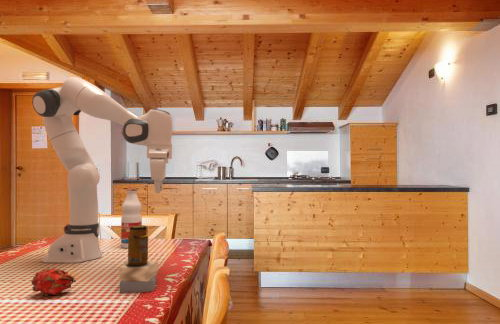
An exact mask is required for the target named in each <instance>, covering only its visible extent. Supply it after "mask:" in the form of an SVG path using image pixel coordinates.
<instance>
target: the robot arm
mask: <svg viewBox="0 0 500 324" xmlns="http://www.w3.org/2000/svg"><path fill="white" fill-rule="evenodd" d="M31 100H32V101H31V103H32V108H33V109H34V112H36V114H37V115H38V116H40V117H42V119H43V120H42V121H43V126H44V128H45V129H44V130H45V132H46V135H47V137H48V139H49V142H50V145H52V147H53V150H54V152H55V153H56V155H57V157H58V159H59V161H60V162H61V164H62V165H63V166H64V168H65V170H66V171H67V180H66V181H67V193H68V203H69V204H68V205H69V218H68V219H69V223H67V224H66V225H65V226H64V227H63V234H62V235H61V236H59V237H58V238H56V239H55V241H53V242H52V243H51V244H50V245H49V248H48V252H47V254H45V255H44V256H43V257H41V262H42V263H60V264H61V263H62V264H63V263H69V264H70V263H71V264H72V263H73V264H74V263H83V262H86V261H91V260H95V259H96V260H97V259H98V258H99V259H100V258H101V257H103V256H102V251H101V248H100V240H99V239H100V238H99V236H100V223H99V200H98V185H99V183H100V178H101V177H100V176H101V175H100V172H99V170H98V169H97V167H96V165H95V163H94V161H93V159H92V158H91V156H90V154H89V151H87V149H86V147H85V145H84V142H83V140H82V138H81V136H80V135H79V132H78V130H77V128H76V126H75V124H74V122H73V116H79V115H80V113H81V112H83V113H84V114H86V115H89V116H91V117H93V118H97V119H100V120H101V119H102V120H107V121H111V122H114V123H118V124H119V125H121V126H122V136H123V139H124V140H125V141H126V142H127V143H129V144H132V145H137V146H145V147H146V159H149V168H150V169H149V170H150V179H151V180H152V181H153V183H154V194H159V193H161V192H162V191H163V184H164V183H163V181H164V179H166V168H167V167H166V166H167V165H166V164H169V160H171V159H172V157H173V155H172V154H173V144H172V137H173V118H172V115H171V114H170V112H168V111H166V110H163V109H158V108H152V109H149V110H148V111H147V112H146V113H145V114H142V115H140V116H138V115H137V114H135V113H133V112H132V111H130V110H128V109H127V108H126V107H125V106H123V105H121V104H120V103H119V102H117V100H115V99H113V98H112V97H111V96H110V95H108V93H107V92H105V91H103V90H102V89H100V88H99V87H98V86H96V85H95V84H93V83H91V82H89V81H87V80H85V79H83V78H80V77H77V76H71V77H68V78H66V79H65V80H64V82H62V85H61V86H57V87H54V88H53V87H52V88H49V89H48V88H47V89H42V90H39V91H37V92H36V93H34V94H33V96H32V99H31Z"/></svg>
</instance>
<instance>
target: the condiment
mask: <svg viewBox="0 0 500 324" xmlns="http://www.w3.org/2000/svg"><path fill="white" fill-rule="evenodd" d="M148 259H149V235H148V227H147V225H143V224H142V225H136V226H131V227H130V235H129V236H128V249H127V261H125V262H123V265H124V264H125V265H126V266H127V267H129V268H141V267H149V266H153V265H152V264H151V263H149V262H148V261H149V260H148Z"/></svg>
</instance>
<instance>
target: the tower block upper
mask: <svg viewBox="0 0 500 324" xmlns="http://www.w3.org/2000/svg"><path fill="white" fill-rule="evenodd" d="M147 261H148V262H149V263H151V264H152V265H153V266H149V267H141V268H129V267H127V266H126V265H125V264H124V263H123V264H122V265H121V266H119V268H118V281H119V282H120V281H146V282H148V281H149V280H150V279H151V278H152V277H154V276H155V275H156V276H157V275H158V271H159V270H158V268H159V261H158V260H147Z"/></svg>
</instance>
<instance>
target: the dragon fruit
mask: <svg viewBox="0 0 500 324" xmlns="http://www.w3.org/2000/svg"><path fill="white" fill-rule="evenodd" d="M41 270H42V271H41ZM41 270H40V271H38V272H37V273H36V275H34V276H33V279H32V280H31V285H32V292H35V293H36V292H38V293H39V292H41V293H42V295H43V296H44V297H45V298H46V297H48V296H49V295H54V296H55V295H56V296H63V295H65V294H66V293H67V292H66V291H65V290H68V289H71V288H72V284H73V283H77V282H76V281H77V280H76V278H75V277H74V276H73V275H72V274H67V273H66V272H65V270H62V269H60V268H55V267H52V268H51V269H50V268H44V269H41ZM62 291H63V292H62Z"/></svg>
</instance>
